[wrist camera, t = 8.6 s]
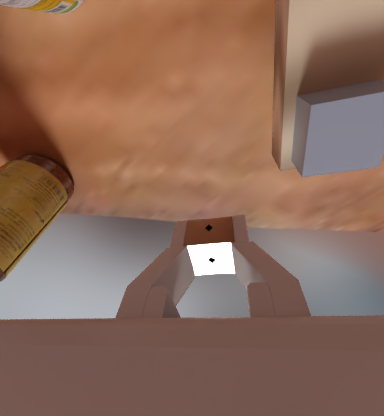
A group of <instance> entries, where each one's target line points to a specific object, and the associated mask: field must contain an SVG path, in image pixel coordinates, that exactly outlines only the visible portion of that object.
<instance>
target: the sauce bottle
mask: <svg viewBox="0 0 384 416" xmlns="http://www.w3.org/2000/svg"><path fill="white" fill-rule="evenodd" d="M73 191H74V187H73V182H72V180H71V179H70V177H69V175H68V173H67V172H66V171H65V170H64V169H63V168H62V167H60V165H59V164H57V163H55V162H54V161H52V160H51V159H48V158H45V157H43V156H39V155H35V154H30V155H23V156H20V157H18V158H16V159H15V160H13V161H9V162H7V163H6V164H4V165H3V166H1V167H0V281H2V280H3V279H5V278H6V277H7V275H8V274H9V273H10V272H11V271H12V270H13V268H14V267H15V266H16V264H18V262H19V261H20V260H21V259H22V258H23V256H24V255H25V254H26V253H27V252H28V250H29V249H30V248H31V247H32V246H33V244H34V243H35V242H36V241H37V240H38V239H39V237H40V236H41V235H42V234H43V233H44V231H45V230H46V229H47V228H48V227H49V225H50V224H51V223H52V222H53V220H54V219H55V218H56V217H57V216H58V215H59V213H60V212H61V211H62V210H63V209H64V207H65V206H66V205H67V203H68V200H69V199H70V198H71V196H72V194H73Z"/></svg>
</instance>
